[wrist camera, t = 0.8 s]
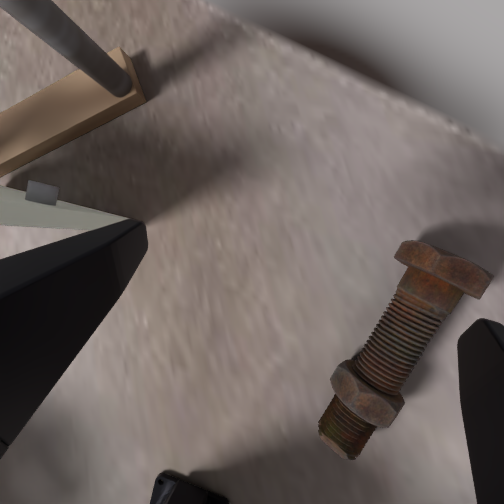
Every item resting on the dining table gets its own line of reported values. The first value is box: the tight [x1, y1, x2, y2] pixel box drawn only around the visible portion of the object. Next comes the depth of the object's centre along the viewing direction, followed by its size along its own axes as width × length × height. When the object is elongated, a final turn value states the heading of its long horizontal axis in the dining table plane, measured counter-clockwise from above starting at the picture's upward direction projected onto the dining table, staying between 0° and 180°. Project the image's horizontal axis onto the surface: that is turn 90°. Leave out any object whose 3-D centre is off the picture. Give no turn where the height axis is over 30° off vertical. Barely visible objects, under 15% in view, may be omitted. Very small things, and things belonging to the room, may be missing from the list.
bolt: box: [318, 240, 494, 460], centre depth 20 cm, size 6×5×15 cm
